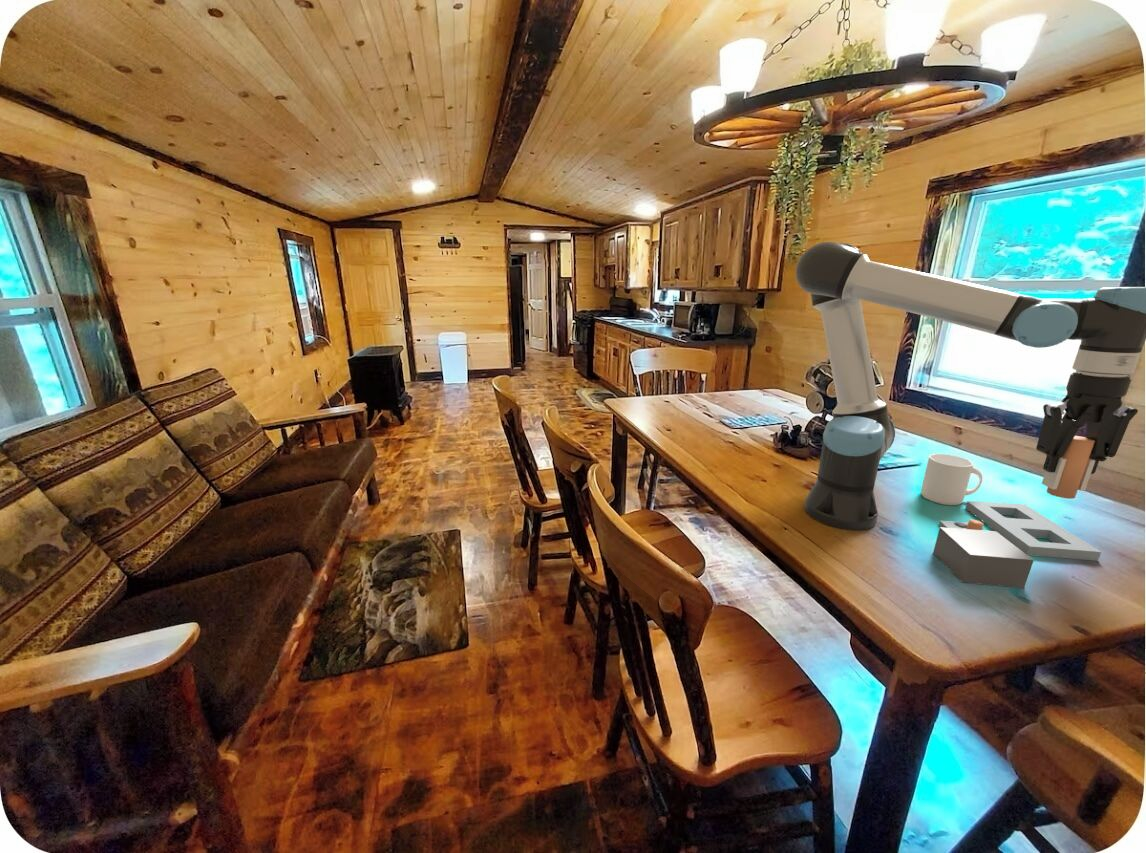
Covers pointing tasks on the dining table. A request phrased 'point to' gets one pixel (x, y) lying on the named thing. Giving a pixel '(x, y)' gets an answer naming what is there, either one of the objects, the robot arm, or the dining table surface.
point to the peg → (1073, 467)
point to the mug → (948, 479)
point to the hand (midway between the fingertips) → (1062, 486)
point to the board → (962, 524)
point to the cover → (982, 557)
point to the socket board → (1032, 531)
